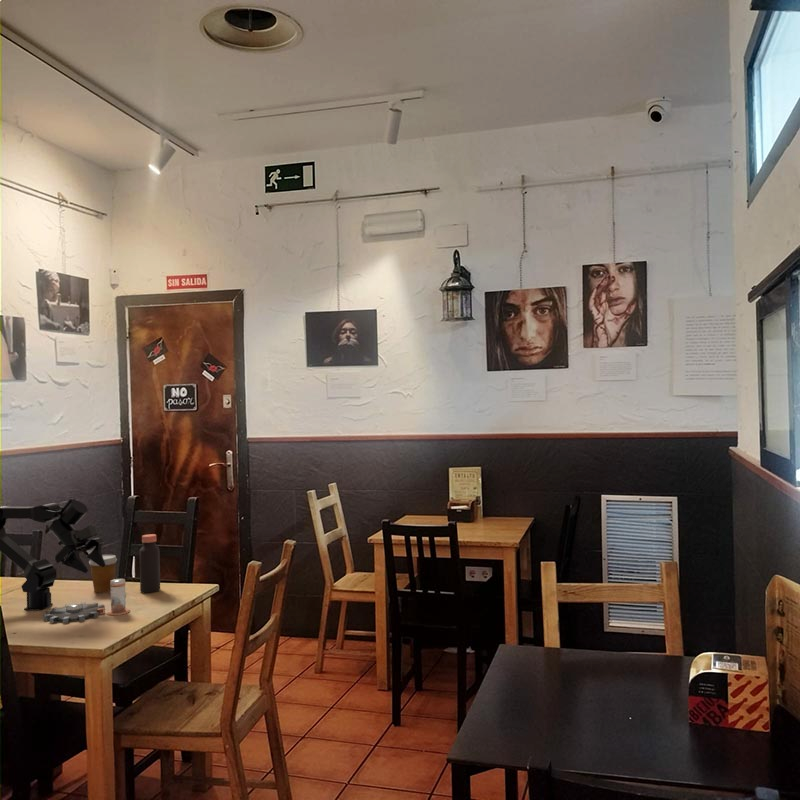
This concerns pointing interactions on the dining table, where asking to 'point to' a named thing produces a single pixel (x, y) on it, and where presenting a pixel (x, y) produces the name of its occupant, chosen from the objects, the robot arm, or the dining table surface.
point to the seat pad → (118, 613)
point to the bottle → (149, 565)
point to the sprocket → (74, 612)
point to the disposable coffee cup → (103, 573)
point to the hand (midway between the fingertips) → (96, 569)
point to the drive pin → (118, 596)
